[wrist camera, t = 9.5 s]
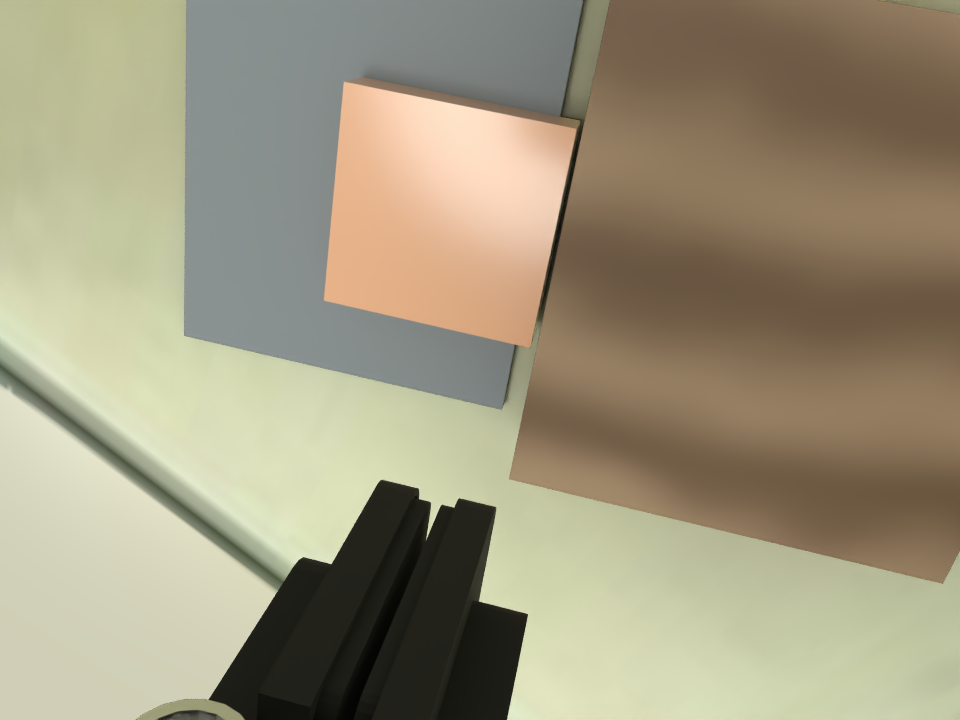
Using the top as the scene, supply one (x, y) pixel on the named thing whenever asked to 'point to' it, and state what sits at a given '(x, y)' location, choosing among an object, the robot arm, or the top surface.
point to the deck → (763, 280)
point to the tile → (446, 208)
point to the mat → (312, 166)
